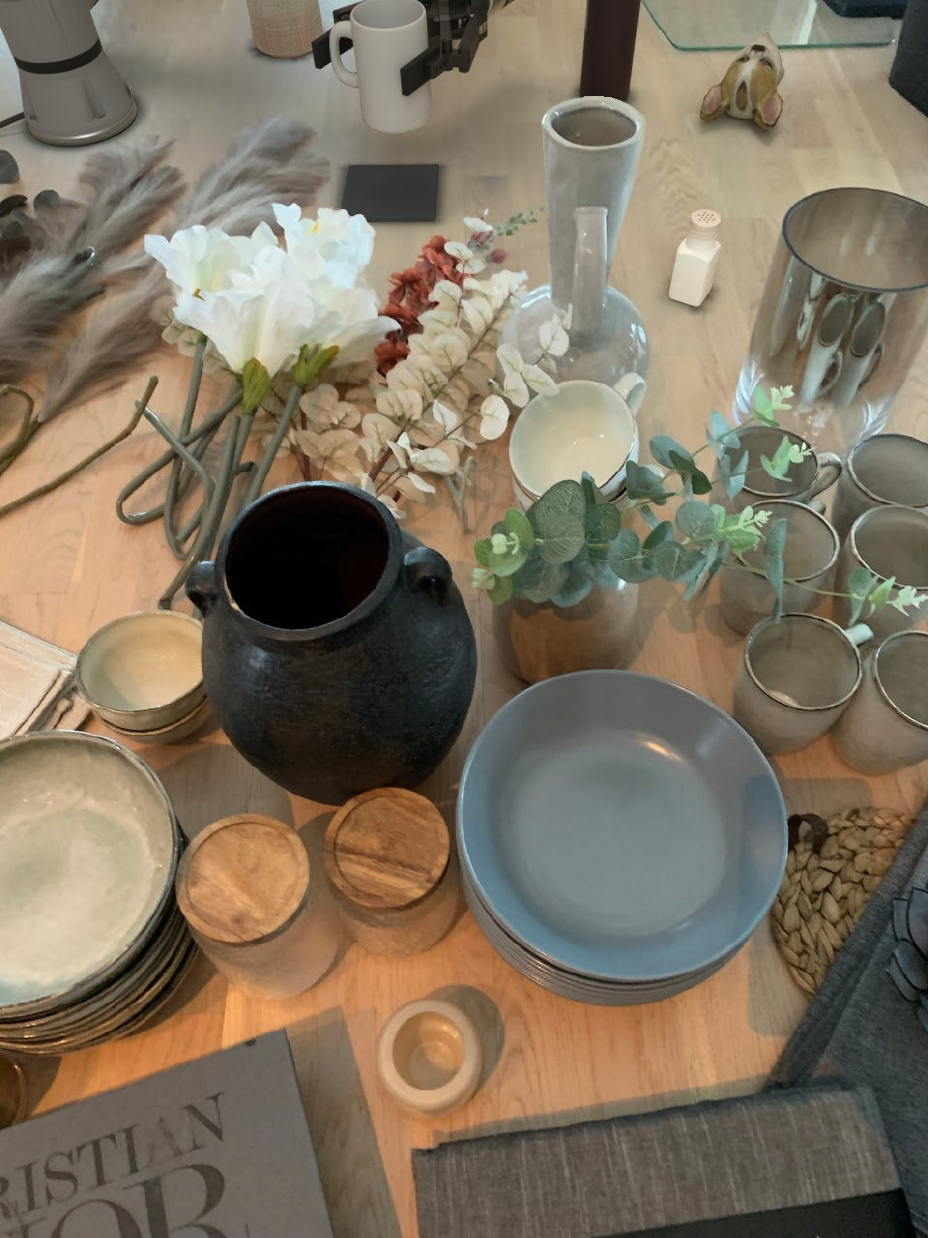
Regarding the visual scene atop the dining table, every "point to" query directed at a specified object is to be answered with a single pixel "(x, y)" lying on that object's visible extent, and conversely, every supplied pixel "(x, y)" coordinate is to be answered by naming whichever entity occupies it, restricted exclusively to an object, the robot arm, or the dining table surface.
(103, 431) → the dining table surface
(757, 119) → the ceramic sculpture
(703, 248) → the salt shaker
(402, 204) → the coaster
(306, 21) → the planter
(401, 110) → the mug
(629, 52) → the wine bottle
